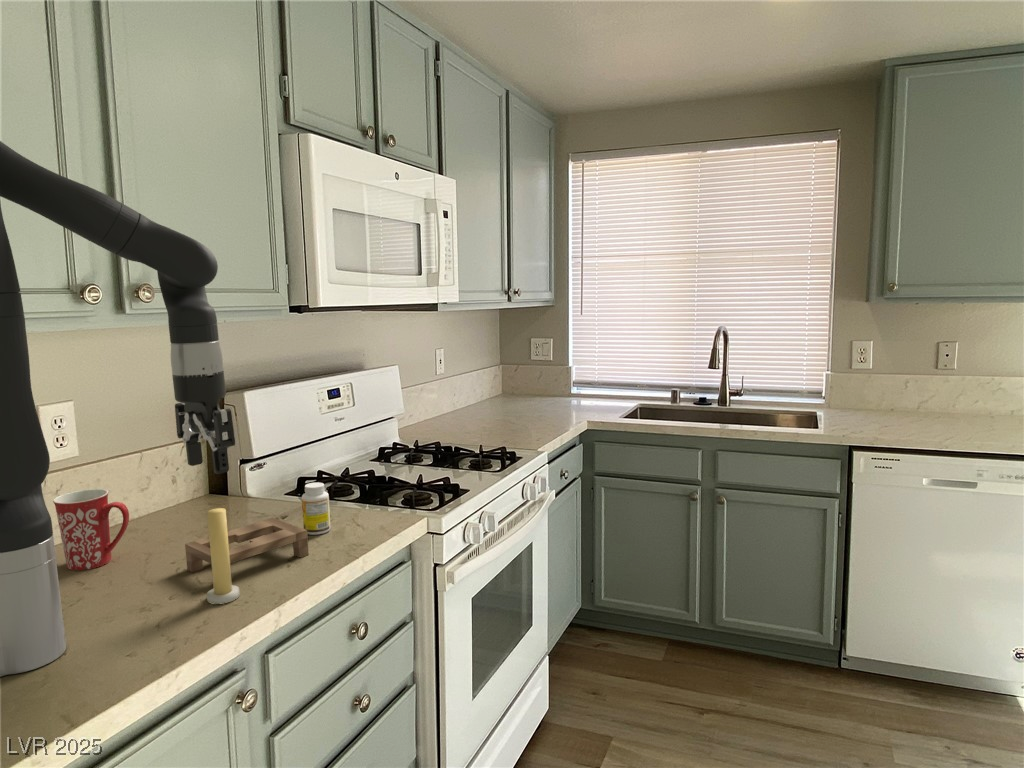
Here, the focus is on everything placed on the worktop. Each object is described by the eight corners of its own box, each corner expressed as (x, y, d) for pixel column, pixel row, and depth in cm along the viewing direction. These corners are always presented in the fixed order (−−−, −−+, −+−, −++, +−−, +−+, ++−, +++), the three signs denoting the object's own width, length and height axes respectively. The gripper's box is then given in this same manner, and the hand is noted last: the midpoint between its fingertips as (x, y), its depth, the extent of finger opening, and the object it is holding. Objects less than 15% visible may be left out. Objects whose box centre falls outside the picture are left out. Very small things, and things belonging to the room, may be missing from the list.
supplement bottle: (310, 526, 151) (307, 480, 150) (334, 527, 150) (332, 481, 149) (299, 535, 146) (296, 488, 144) (324, 536, 145) (321, 488, 143)
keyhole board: (220, 586, 121) (217, 559, 120) (187, 569, 129) (185, 543, 128) (308, 554, 135) (307, 530, 134) (274, 541, 142) (272, 517, 142)
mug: (49, 573, 128) (41, 503, 126) (79, 555, 137) (72, 489, 135) (118, 572, 128) (111, 501, 126) (143, 553, 137) (137, 487, 135)
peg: (216, 607, 113) (209, 517, 111) (201, 599, 116) (194, 511, 114) (245, 597, 117) (238, 509, 115) (230, 589, 120) (223, 504, 118)
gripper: (153, 370, 112) (165, 467, 115) (196, 376, 103) (208, 481, 106) (199, 364, 118) (208, 457, 120) (243, 369, 109) (253, 469, 111)
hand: (208, 468), depth 113 cm, fingers open, 8 cm apart
